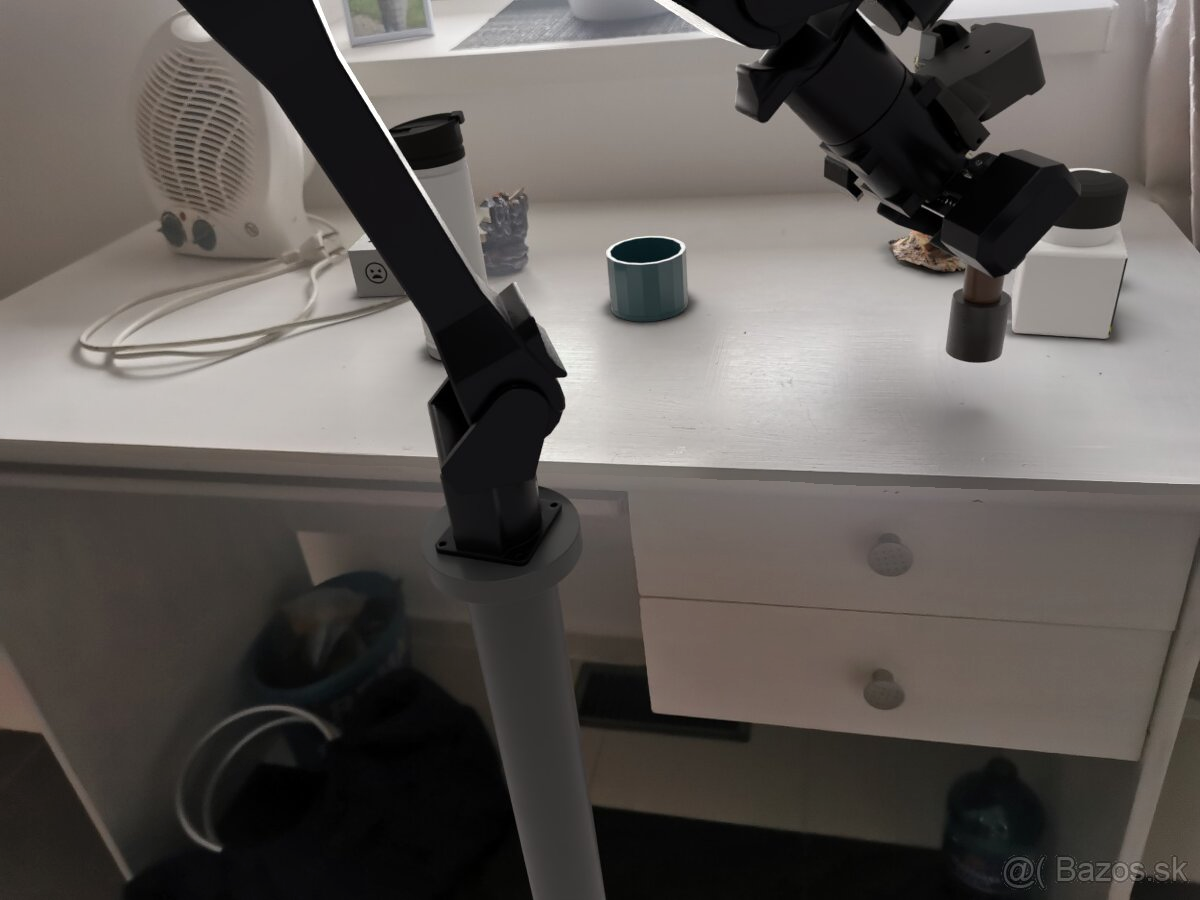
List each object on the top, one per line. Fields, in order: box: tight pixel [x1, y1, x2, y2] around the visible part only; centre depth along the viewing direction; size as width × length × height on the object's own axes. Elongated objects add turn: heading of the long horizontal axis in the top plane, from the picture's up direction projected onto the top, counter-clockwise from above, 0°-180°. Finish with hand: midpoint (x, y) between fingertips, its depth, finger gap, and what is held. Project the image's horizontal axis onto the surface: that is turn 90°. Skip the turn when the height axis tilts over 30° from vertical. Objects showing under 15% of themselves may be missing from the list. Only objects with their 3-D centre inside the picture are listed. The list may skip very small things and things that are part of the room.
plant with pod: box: [887, 52, 974, 273], centre depth 83 cm, size 8×11×20 cm
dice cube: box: [347, 233, 407, 298], centre depth 94 cm, size 5×5×5 cm
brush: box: [945, 263, 1012, 364], centre depth 59 cm, size 4×4×11 cm
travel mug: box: [388, 109, 489, 362], centre depth 76 cm, size 6×7×20 cm
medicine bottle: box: [1011, 167, 1129, 340], centre depth 72 cm, size 7×7×12 cm
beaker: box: [605, 235, 689, 323], centre depth 84 cm, size 7×7×6 cm
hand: (1005, 255), depth 59 cm, fingers closed on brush, 2 cm apart
